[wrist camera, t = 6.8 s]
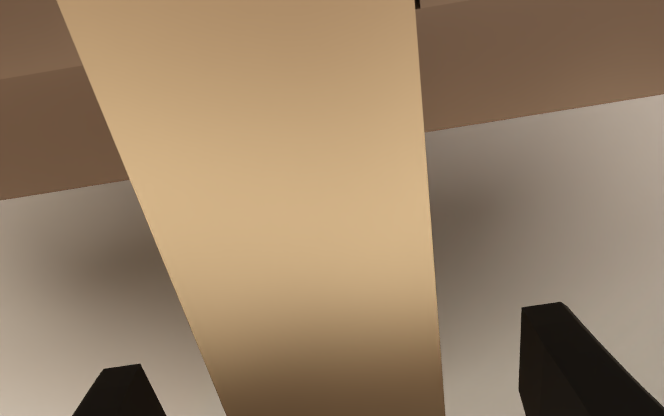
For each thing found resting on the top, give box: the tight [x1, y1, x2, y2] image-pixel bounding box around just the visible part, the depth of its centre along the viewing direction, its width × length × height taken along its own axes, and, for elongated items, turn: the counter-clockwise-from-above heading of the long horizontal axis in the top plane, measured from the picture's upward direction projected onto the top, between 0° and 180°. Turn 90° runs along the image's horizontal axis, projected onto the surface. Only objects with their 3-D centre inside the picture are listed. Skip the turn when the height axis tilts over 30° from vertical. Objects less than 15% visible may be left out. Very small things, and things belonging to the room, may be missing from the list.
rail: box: [57, 0, 445, 416], centre depth 12 cm, size 14×3×6 cm, turn 9°
